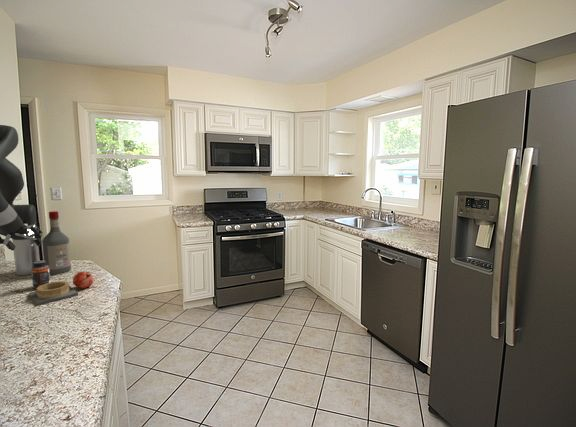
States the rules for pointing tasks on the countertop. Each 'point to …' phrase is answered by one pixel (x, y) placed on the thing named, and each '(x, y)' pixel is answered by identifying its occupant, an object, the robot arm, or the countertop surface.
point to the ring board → (52, 292)
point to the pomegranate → (83, 280)
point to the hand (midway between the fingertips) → (26, 246)
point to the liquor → (56, 247)
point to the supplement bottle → (40, 274)
